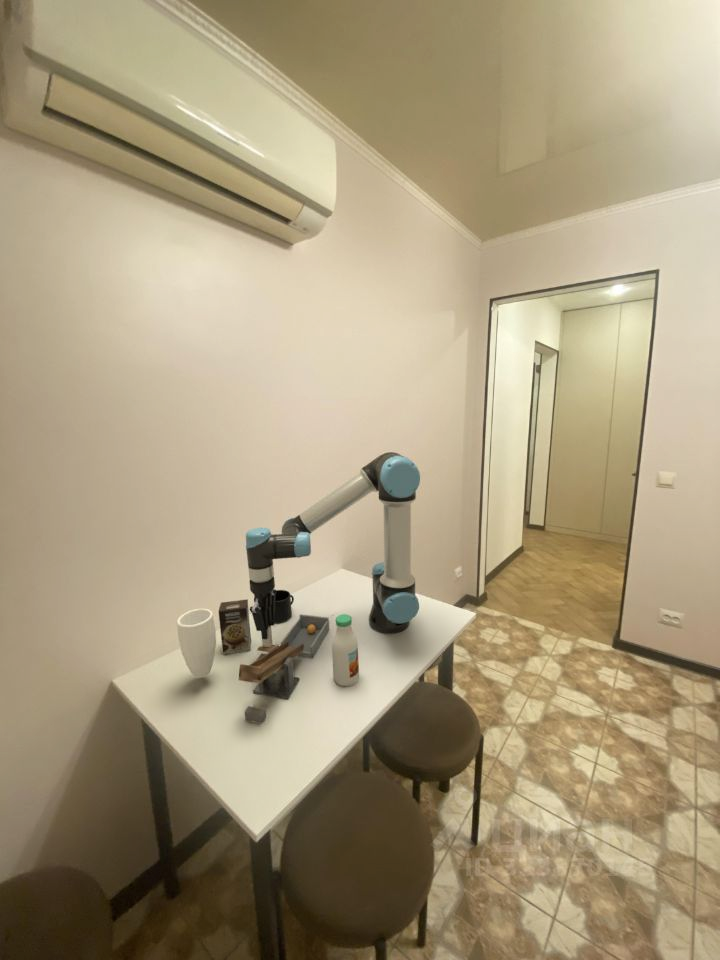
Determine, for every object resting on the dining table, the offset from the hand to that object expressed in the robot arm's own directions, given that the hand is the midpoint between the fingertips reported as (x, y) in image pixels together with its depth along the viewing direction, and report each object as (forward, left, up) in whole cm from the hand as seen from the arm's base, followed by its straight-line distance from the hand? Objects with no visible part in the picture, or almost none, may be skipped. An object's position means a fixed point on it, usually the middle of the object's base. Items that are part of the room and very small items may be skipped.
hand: (267, 645), depth 125 cm
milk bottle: (-27, +2, -6) cm, 28 cm away
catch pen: (-8, -12, -5) cm, 15 cm away
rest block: (-8, +22, -5) cm, 25 cm away
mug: (+8, -26, -6) cm, 27 cm away
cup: (+15, +13, -6) cm, 21 cm away
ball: (-8, -17, -4) cm, 19 cm away
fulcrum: (-8, +10, -5) cm, 14 cm away
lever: (-4, +11, +1) cm, 12 cm away
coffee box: (+14, -4, -6) cm, 15 cm away
